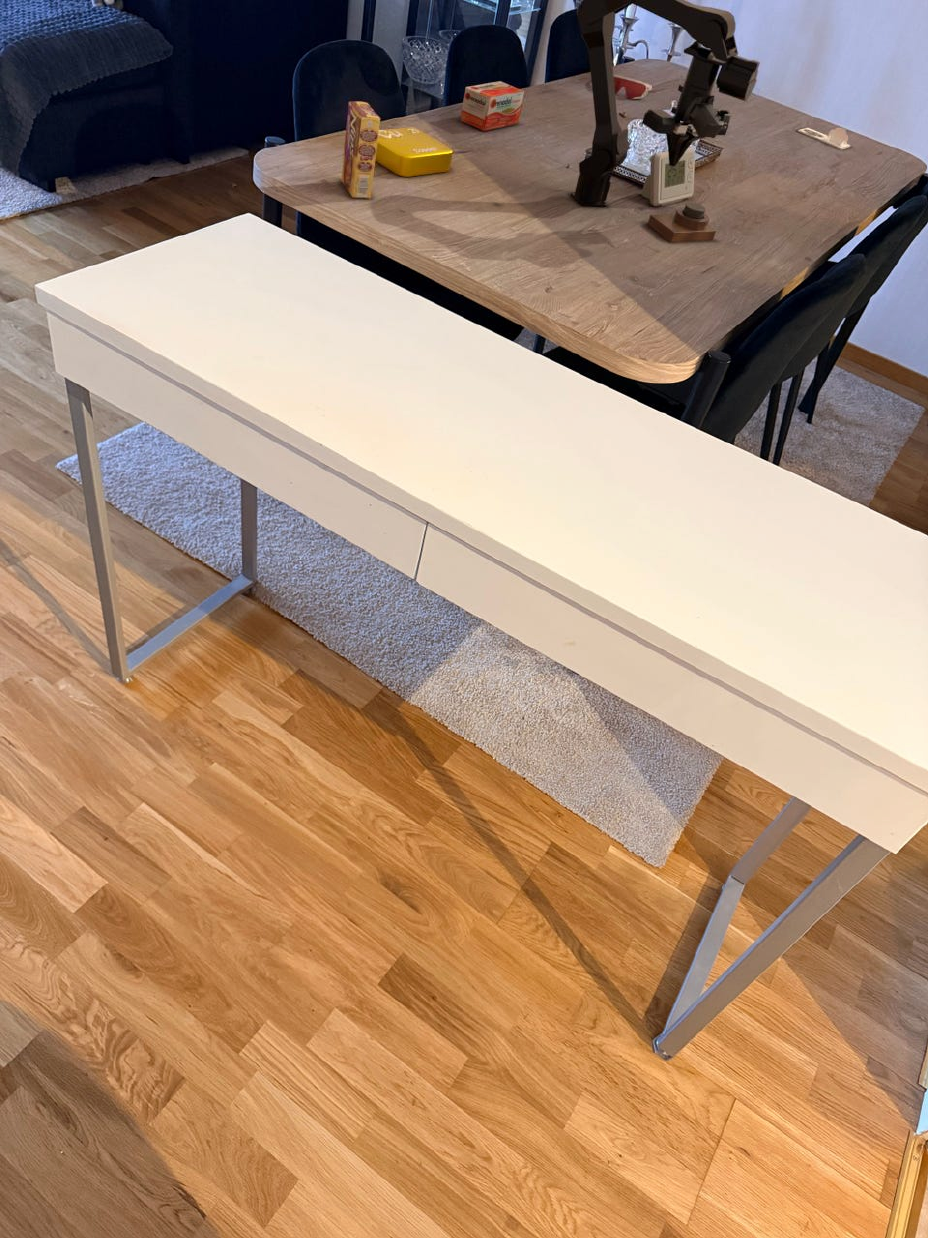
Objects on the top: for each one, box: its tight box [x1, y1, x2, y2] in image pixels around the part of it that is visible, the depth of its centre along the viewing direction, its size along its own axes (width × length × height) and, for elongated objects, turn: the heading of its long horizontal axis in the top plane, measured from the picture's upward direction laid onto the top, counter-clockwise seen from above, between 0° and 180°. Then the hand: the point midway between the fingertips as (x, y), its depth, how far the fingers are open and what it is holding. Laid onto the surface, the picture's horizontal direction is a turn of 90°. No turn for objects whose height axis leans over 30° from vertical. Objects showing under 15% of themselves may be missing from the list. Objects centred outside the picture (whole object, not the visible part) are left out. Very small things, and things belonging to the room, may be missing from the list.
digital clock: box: [640, 146, 696, 207], centre depth 213 cm, size 16×9×11 cm, turn 123°
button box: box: [647, 206, 717, 243], centre depth 202 cm, size 12×9×4 cm
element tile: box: [375, 126, 453, 178], centre depth 202 cm, size 15×15×5 cm
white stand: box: [797, 127, 851, 150], centre depth 278 cm, size 15×7×4 cm, turn 46°
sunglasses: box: [613, 74, 653, 100], centre depth 278 cm, size 17×17×5 cm
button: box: [683, 202, 706, 219], centre depth 201 cm, size 4×4×2 cm
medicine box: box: [460, 80, 525, 132], centre depth 231 cm, size 15×8×8 cm, turn 142°
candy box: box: [341, 101, 381, 200], centre depth 182 cm, size 9×4×15 cm, turn 20°
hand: (672, 165), depth 194 cm, fingers closed
